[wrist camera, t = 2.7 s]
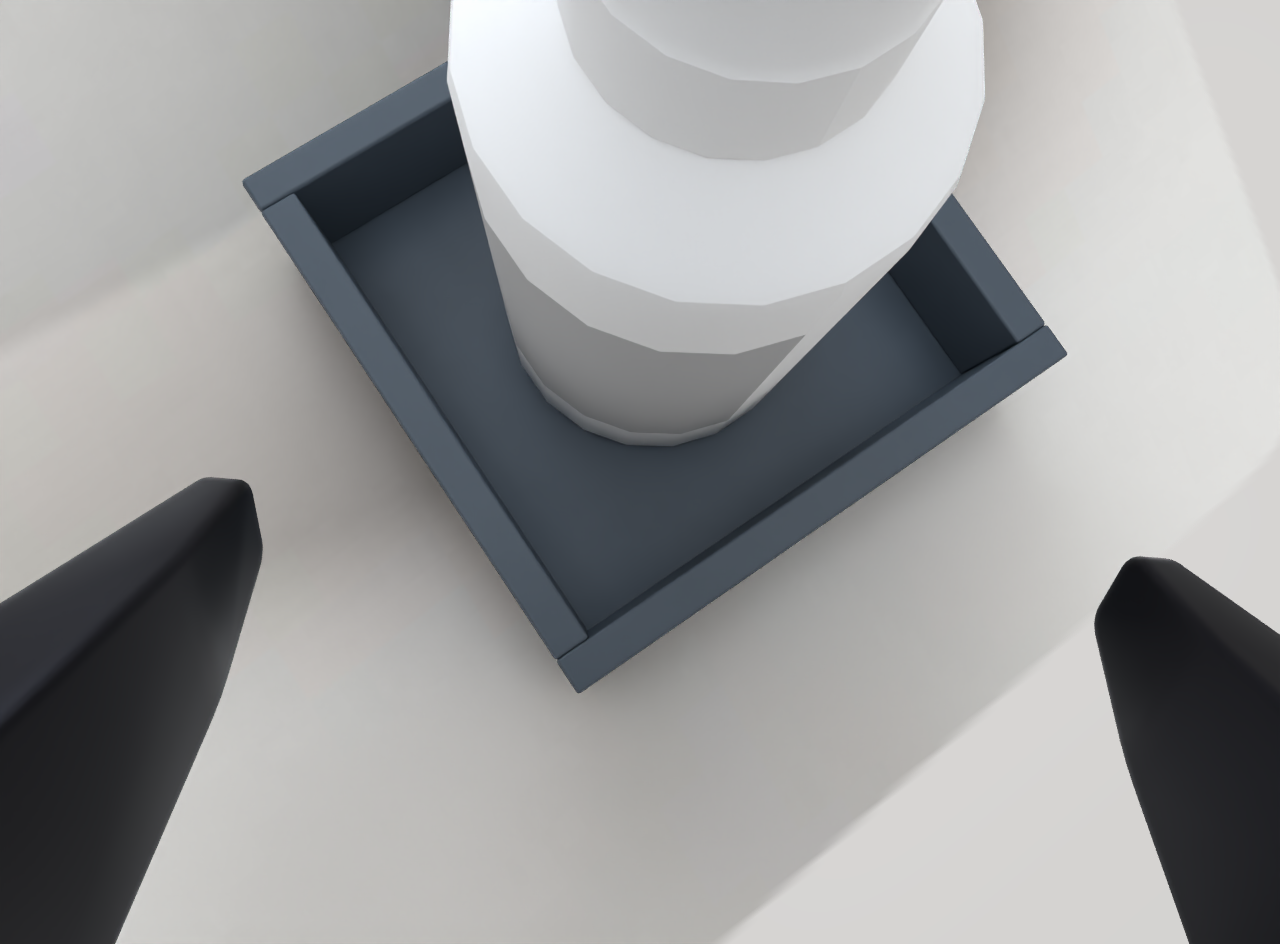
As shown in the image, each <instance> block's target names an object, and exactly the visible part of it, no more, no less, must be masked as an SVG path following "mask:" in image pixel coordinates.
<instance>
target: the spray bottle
mask: <svg viewBox="0 0 1280 944" xmlns="http://www.w3.org/2000/svg"><path fill="white" fill-rule="evenodd" d="M447 84H448V87H449V91H450V95H451V99H452V103H453V107H454V111H455V115H456V118H457V122H458V126H459V130H460V134H461V138H462V142H463V146H464V150H465V153H466V157H467V161H468V165H469V169H470V173H471V177H472V181H473V184H474V188H475V192H476V196H477V200H478V204H479V208H480V212H481V215H482V219H483V223H484V227H485V231H486V235H487V239H488V243H489V247H490V250H491V254H492V258H493V262H494V266H495V270H496V274H497V278H498V281H499V285H500V289H501V293H502V297H503V301H504V305H505V309H506V312H507V316H508V320H509V324H510V327H511V331H512V334H513V338H514V341H515V344H516V348H517V351H518V355H519V358H520V361H521V365H522V366H523V368H524V369H525V371H526V372H527V373H528V375H529V376H530V378H531V379H532V381H533V382H534V384H535V385H536V386H537V388H538V389H539V391H540V392H541V394H542V395H543V397H544V398H545V399H546V401H547V402H548V403H549V404H551V405H552V406H553V407H555V408H556V409H557V410H558V411H560V412H561V413H562V414H564V415H565V416H566V417H568V418H569V419H570V420H572V421H573V422H574V423H575V424H577V425H578V426H579V427H581V428H582V429H583V430H586V431H589V432H592V433H594V434H597V435H600V436H603V437H606V438H608V439H611V440H614V441H617V442H620V443H622V444H625V445H642V446H676V445H679V444H682V443H686V442H689V441H693V440H696V439H700V438H703V437H707V436H710V435H714V434H716V433H718V432H719V431H721V430H722V429H723V428H725V427H726V426H728V425H729V424H731V423H732V422H734V421H735V420H737V419H738V418H740V417H741V416H742V415H744V414H745V413H747V412H748V411H750V410H751V409H753V408H754V406H755V405H756V404H757V403H758V402H759V401H760V400H761V399H762V398H763V397H764V396H765V395H766V394H767V393H768V392H769V391H770V390H771V389H772V388H773V387H774V386H775V385H776V384H777V383H778V382H779V381H780V380H781V379H782V378H783V377H784V376H785V375H786V374H787V373H788V372H789V371H790V370H791V369H792V368H793V367H794V366H795V365H796V364H797V363H798V362H799V361H800V360H801V359H802V358H803V357H804V356H805V355H806V354H807V353H808V352H809V351H810V350H811V349H812V348H813V347H814V346H815V345H816V344H817V343H818V342H819V341H820V340H821V339H822V338H823V337H824V336H825V335H826V334H827V333H828V332H829V331H830V330H831V329H832V328H833V327H834V326H835V324H836V323H837V322H838V321H839V320H840V319H841V318H842V317H843V316H844V315H845V314H846V313H847V312H848V311H849V310H850V309H851V308H852V307H853V306H854V305H855V304H856V303H857V302H858V301H859V300H860V299H861V298H862V297H863V296H864V295H865V294H866V293H867V292H868V291H869V290H870V289H871V288H872V287H873V286H874V285H875V284H876V283H877V282H878V281H879V280H880V279H881V278H882V277H883V276H884V275H885V274H886V273H887V272H888V271H889V270H890V269H891V268H892V267H893V266H894V265H895V264H896V263H897V262H898V261H899V260H900V259H901V258H902V257H903V256H904V255H905V254H906V253H907V252H908V251H909V250H910V248H911V247H912V246H913V244H914V243H915V242H916V240H917V239H918V238H919V236H920V235H921V234H922V232H923V231H924V230H925V228H926V227H927V226H928V224H929V223H930V222H931V220H932V219H933V218H934V216H935V215H936V214H937V212H938V211H939V210H940V208H941V207H942V206H943V204H944V203H945V202H946V200H947V199H948V198H949V196H950V195H951V194H952V192H953V191H954V190H955V188H956V187H957V185H958V182H959V179H960V176H961V173H962V170H963V167H964V164H965V161H966V157H967V154H968V151H969V148H970V145H971V142H972V138H973V135H974V132H975V129H976V126H977V123H978V119H979V116H980V113H981V110H982V107H983V103H984V100H985V79H984V43H983V19H982V17H981V14H980V11H979V8H978V6H977V3H976V0H451V10H450V30H449V49H448V69H447Z"/></svg>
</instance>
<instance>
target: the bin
mask: <svg viewBox="0 0 1280 944" xmlns="http://www.w3.org/2000/svg"><path fill="white" fill-rule="evenodd" d="M447 69H448V61H447V62H445V63H444V64H442V65H440V66H438V67H437V68H435V69H433V70H432V71H430V72H428V73H426V74H425V75H423V76H421V77H419V78H418V79H416V80H414V81H413V82H411V83H409V84H407V85H406V86H404V87H402V88H401V89H399V90H397V91H395V92H394V93H392V94H390V95H388V96H387V97H385V98H383V99H382V100H380V101H378V102H376V103H375V104H373V105H371V106H369V107H368V108H366V109H364V110H363V111H361V112H359V113H357V114H356V115H354V116H352V117H350V118H349V119H347V120H345V121H344V122H342V123H340V124H338V125H337V126H335V127H333V128H331V129H330V130H328V131H326V132H325V133H323V134H321V135H319V136H318V137H316V138H314V139H312V140H311V141H309V142H307V143H306V144H304V145H302V146H300V147H299V148H297V149H295V150H294V151H292V152H290V153H288V154H287V155H285V156H283V157H281V158H280V159H278V160H276V161H275V162H273V163H271V164H269V165H268V166H266V167H264V168H262V169H261V170H259V171H257V172H256V173H254V174H252V175H250V176H249V177H247V178H245V179H244V180H243V181H242V182H243V186H244V188H245V189H246V191H247V192H248V194H249V195H250V197H251V198H252V200H253V201H254V203H255V204H256V206H257V207H258V209H259V210H260V211H261V212H262V215H263V217H264V218H265V220H266V221H267V223H268V224H269V226H270V227H271V229H272V230H273V232H274V233H275V235H276V236H277V238H278V239H279V241H280V242H281V244H282V245H283V247H284V249H285V250H286V252H287V253H288V255H289V256H290V258H291V259H292V261H293V262H294V264H295V265H296V267H297V268H298V270H299V271H300V273H301V274H302V276H303V277H304V279H305V280H306V282H307V283H308V285H309V286H310V288H311V290H312V291H313V293H314V294H315V296H316V297H317V299H318V300H319V302H320V303H321V305H322V306H323V308H324V309H325V311H326V312H327V314H328V315H329V317H330V318H331V320H332V321H333V323H334V324H335V326H336V327H337V329H338V331H339V332H340V334H341V335H342V337H343V338H344V340H345V341H346V343H347V344H348V346H349V347H350V349H351V350H352V352H353V353H354V355H355V356H356V358H357V359H358V361H359V362H360V364H361V365H362V367H363V368H364V370H365V372H366V373H367V375H368V376H369V378H370V379H371V381H372V382H373V384H374V385H375V387H376V388H377V390H378V391H379V393H380V394H381V396H382V397H383V399H384V400H385V402H386V403H387V405H388V406H389V408H390V409H391V411H392V413H393V414H394V416H395V417H396V419H397V420H398V422H399V423H400V425H401V426H402V428H403V429H404V431H405V432H406V434H407V435H408V437H409V438H410V440H411V441H412V443H413V444H414V446H415V447H416V449H417V451H418V452H419V454H420V455H421V457H422V458H423V460H424V461H425V463H426V464H427V466H428V467H429V469H430V470H431V472H432V473H433V475H434V476H435V478H436V479H437V481H438V482H439V484H440V485H441V487H442V488H443V490H444V492H445V493H446V495H447V496H448V498H449V499H450V501H451V502H452V504H453V505H454V507H455V508H456V510H457V511H458V513H459V514H460V516H461V517H462V519H463V520H464V522H465V523H466V525H467V526H468V528H469V529H470V531H471V533H472V534H473V536H474V537H475V539H476V540H477V542H478V543H479V545H480V546H481V548H482V549H483V551H484V552H485V554H486V555H487V557H488V558H489V560H490V561H491V563H492V564H493V566H494V567H495V569H496V570H497V572H498V574H499V575H500V577H501V578H502V580H503V581H504V583H505V584H506V586H507V587H508V589H509V590H510V592H511V593H512V595H513V596H514V598H515V599H516V601H517V602H518V604H519V605H520V607H521V608H522V610H523V611H524V613H525V615H526V616H527V618H528V619H529V621H530V622H531V624H532V625H533V627H534V628H535V630H536V631H537V633H538V634H539V636H540V637H541V639H542V640H543V642H544V643H545V645H546V646H547V648H548V649H549V651H550V652H551V654H552V656H553V657H554V658H555V659H557V663H558V665H559V666H560V668H561V669H562V671H563V672H564V674H565V675H566V677H567V678H568V680H569V681H570V683H571V684H572V686H573V687H574V689H575V690H576V692H577V693H581V692H583V691H584V690H586V689H587V688H588V687H590V686H591V685H593V684H594V683H596V682H597V681H598V680H600V679H601V678H603V677H604V676H606V675H607V674H609V673H610V672H611V671H613V670H614V669H616V668H617V667H619V666H620V665H622V664H623V663H624V662H626V661H627V660H629V659H630V658H632V657H633V656H635V655H636V654H637V653H639V652H640V651H642V650H643V649H645V648H646V647H647V646H649V645H650V644H652V643H653V642H655V641H656V640H658V639H659V638H660V637H662V636H663V635H665V634H666V633H668V632H669V631H671V630H672V629H673V628H675V627H676V626H678V625H679V624H681V623H682V622H684V621H685V620H686V619H688V618H689V617H691V616H692V615H694V614H695V613H696V612H698V611H699V610H701V609H702V608H704V607H705V606H707V605H708V604H709V603H711V602H712V601H714V600H715V599H717V598H718V597H720V596H721V595H722V594H724V593H725V592H727V591H728V590H730V589H731V588H733V587H734V586H735V585H737V584H738V583H740V582H741V581H743V580H744V579H746V578H747V577H748V576H750V575H751V574H753V573H754V572H756V571H757V570H758V569H760V568H761V567H763V566H764V565H766V564H767V563H769V562H770V561H771V560H773V559H774V558H776V557H777V556H779V555H780V554H782V553H783V552H784V551H786V550H787V549H789V548H790V547H792V546H793V545H795V544H796V543H797V542H799V541H800V540H802V539H803V538H805V537H806V536H807V535H809V534H810V533H812V532H813V531H815V530H816V529H818V528H819V527H820V526H822V525H823V524H825V523H826V522H828V521H829V520H831V519H832V518H833V517H835V516H836V515H838V514H839V513H841V512H842V511H844V510H845V509H846V508H848V507H849V506H851V505H852V504H854V503H855V502H856V501H858V500H859V499H861V498H862V497H864V496H865V495H867V494H868V493H869V492H871V491H872V490H874V489H875V488H877V487H878V486H880V485H881V484H882V483H884V482H885V481H887V480H888V479H890V478H891V477H893V476H894V475H895V474H897V473H898V472H900V471H901V470H903V469H904V468H906V467H907V466H908V465H910V464H911V463H913V462H914V461H916V460H917V459H918V458H920V457H921V456H923V455H924V454H926V453H927V452H929V451H930V450H931V449H933V448H934V447H936V446H937V445H939V444H940V443H942V442H943V441H944V440H946V439H947V438H949V437H950V436H952V435H953V434H955V433H956V432H957V431H959V430H960V429H962V428H963V427H965V426H966V425H967V424H969V423H970V422H972V421H973V420H975V419H976V418H978V417H979V416H980V415H982V414H983V413H985V412H986V411H988V410H989V409H991V408H992V407H993V406H995V405H996V404H998V403H999V402H1001V401H1002V400H1004V399H1005V398H1006V397H1008V396H1009V395H1011V394H1012V393H1014V392H1015V391H1016V390H1018V389H1019V388H1021V387H1022V386H1024V385H1025V384H1027V383H1028V382H1029V381H1031V380H1032V379H1034V378H1035V377H1037V376H1038V375H1040V374H1041V373H1042V372H1044V371H1045V370H1047V369H1048V368H1050V367H1051V366H1053V365H1054V364H1055V363H1057V362H1058V361H1060V360H1061V359H1063V358H1064V357H1065V356H1066V355H1067V352H1066V351H1065V349H1064V348H1063V347H1062V345H1061V344H1060V342H1059V341H1058V340H1057V338H1056V337H1055V335H1054V334H1053V333H1052V331H1051V330H1050V329H1049V327H1048V326H1044V324H1045V323H1044V321H1043V319H1042V318H1041V317H1040V315H1039V314H1038V312H1037V311H1036V310H1035V308H1034V307H1033V305H1032V304H1031V303H1030V301H1029V300H1028V299H1027V297H1026V296H1025V294H1024V293H1023V292H1022V290H1021V289H1020V287H1019V286H1018V285H1017V283H1016V282H1015V280H1014V279H1013V278H1012V276H1011V275H1010V274H1009V272H1008V271H1007V269H1006V268H1005V267H1004V265H1003V264H1002V262H1001V261H1000V260H999V258H998V257H997V255H996V254H995V253H994V251H993V250H992V249H991V247H990V246H989V244H988V243H987V242H986V240H985V239H984V237H983V236H982V235H981V233H980V232H979V230H978V229H977V228H976V226H975V225H974V224H973V222H972V221H971V219H970V218H969V217H968V215H967V214H966V212H965V211H964V210H963V208H962V207H961V205H960V204H959V203H958V201H957V200H956V199H955V197H954V196H953V194H951V195H950V196H949V198H948V199H947V200H946V202H945V203H944V204H943V206H942V207H941V208H940V210H939V211H938V212H937V214H936V215H935V216H934V218H933V219H932V220H931V222H930V223H929V224H928V226H927V227H926V228H925V230H924V231H923V232H922V234H921V235H920V236H919V238H918V239H917V240H916V242H915V243H914V244H913V246H912V247H911V248H910V250H909V251H908V252H907V253H906V254H905V255H904V256H903V257H902V258H901V259H900V260H899V261H898V262H897V263H896V264H895V265H894V266H893V267H892V268H891V269H890V270H889V271H888V272H887V273H886V274H885V275H884V276H883V277H882V278H881V279H880V280H879V281H878V282H877V283H876V284H875V285H874V286H873V287H872V288H871V289H870V290H869V291H868V292H867V293H866V294H865V295H864V296H863V297H862V298H861V299H860V300H859V301H858V302H857V303H856V304H855V305H854V306H853V307H852V308H851V309H850V310H849V311H848V312H847V313H846V314H845V315H844V316H843V317H842V318H841V319H840V320H839V321H838V322H837V323H836V324H835V326H834V327H833V328H832V329H831V330H830V331H829V332H828V333H827V334H826V335H825V336H824V337H823V338H822V339H821V340H820V341H819V342H818V343H817V344H816V345H815V346H814V347H813V348H812V349H811V350H810V351H809V352H808V353H807V354H806V355H805V356H804V357H803V358H802V359H801V360H800V361H799V362H798V363H797V364H796V365H795V366H794V367H793V368H792V369H791V370H790V371H789V372H788V373H787V374H786V375H785V376H784V377H783V378H782V379H781V380H780V381H779V382H778V383H777V384H776V385H775V386H774V387H773V388H772V389H771V390H770V391H769V392H768V393H767V394H766V395H765V396H764V397H763V398H762V399H761V400H760V401H759V402H758V403H757V404H756V405H755V406H754V408H753V409H751V410H750V411H748V412H747V413H745V414H744V415H742V416H741V417H740V418H738V419H737V420H735V421H734V422H732V423H731V424H729V425H728V426H726V427H725V428H723V429H722V430H721V431H719V432H718V433H716V434H714V435H710V436H707V437H703V438H700V439H696V440H693V441H689V442H686V443H682V444H679V445H676V446H642V445H625V444H622V443H620V442H617V441H614V440H611V439H608V438H606V437H603V436H600V435H597V434H594V433H592V432H589V431H586V430H583V429H582V428H581V427H579V426H578V425H577V424H575V423H574V422H573V421H572V420H570V419H569V418H568V417H566V416H565V415H564V414H562V413H561V412H560V411H558V410H557V409H556V408H555V407H553V406H552V405H551V404H549V403H548V402H547V401H546V399H545V398H544V397H543V395H542V394H541V392H540V391H539V389H538V388H537V386H536V385H535V384H534V382H533V381H532V379H531V378H530V376H529V375H528V373H527V372H526V371H525V369H524V368H523V366H522V365H521V361H520V358H519V355H518V351H517V348H516V344H515V341H514V338H513V334H512V331H511V327H510V324H509V320H508V316H507V312H506V309H505V305H504V301H503V297H502V293H501V289H500V285H499V281H498V278H497V274H496V270H495V266H494V262H493V258H492V254H491V250H490V247H489V243H488V239H487V235H486V231H485V227H484V223H483V219H482V215H481V212H480V208H479V204H478V200H477V196H476V192H475V188H474V184H473V181H472V177H471V173H470V169H469V165H468V161H467V157H466V153H465V150H464V146H463V142H462V138H461V134H460V130H459V126H458V122H457V118H456V115H455V111H454V107H453V103H452V99H451V95H450V91H449V87H448V84H447Z"/></svg>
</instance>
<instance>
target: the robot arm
mask: <svg viewBox="0 0 1280 944" xmlns="http://www.w3.org/2000/svg"><path fill="white" fill-rule="evenodd" d="M262 551H263V545H262V538H261V533H260V528H259V523H258V518H257V513H256V508H255V503H254V498H253V493H252V490H251V488H250V486H249V485H248V484H247V483H246V482H244V481H243V480H238V479H226V478H214V477H208V478H202V479H200V480H198V481H196V482H195V483H193V484H191V485H190V486H188V487H187V488H185V489H183V490H182V491H180V492H179V493H177V494H175V495H174V496H172V497H171V498H169V499H167V500H166V501H164V502H162V503H161V504H159V505H158V506H156V507H154V508H153V509H151V510H150V511H148V512H146V513H145V514H143V515H142V516H140V517H138V518H137V519H135V520H134V521H132V522H130V523H129V524H127V525H126V526H124V527H122V528H121V529H119V530H117V531H116V532H114V533H113V534H111V535H109V536H108V537H106V538H105V539H103V540H101V541H100V542H98V543H97V544H95V545H93V546H92V547H90V548H89V549H87V550H85V551H84V552H82V553H81V554H79V555H77V556H76V557H74V558H72V559H71V560H69V561H68V562H66V563H64V564H63V565H61V566H60V567H58V568H56V569H55V570H53V571H52V572H50V573H48V574H47V575H45V576H44V577H42V578H40V579H39V580H37V581H35V582H34V583H32V584H31V585H29V586H27V587H26V588H24V589H23V590H21V591H19V592H18V593H16V594H15V595H13V596H11V597H10V598H8V599H7V600H5V601H3V602H2V603H0V944H115V943H116V940H117V938H118V936H119V933H120V931H121V929H122V927H123V924H124V922H125V920H126V917H127V915H128V913H129V910H130V908H131V906H132V903H133V901H134V899H135V896H136V894H137V892H138V890H139V887H140V885H141V883H142V880H143V878H144V876H145V873H146V871H147V869H148V866H149V864H150V862H151V860H152V857H153V855H154V853H155V850H156V848H157V846H158V843H159V841H160V839H161V836H162V834H163V832H164V829H165V827H166V825H167V823H168V820H169V818H170V816H171V813H172V811H173V809H174V806H175V804H176V802H177V799H178V797H179V795H180V792H181V790H182V788H183V786H184V783H185V781H186V779H187V776H188V774H189V772H190V769H191V767H192V765H193V762H194V760H195V758H196V756H197V753H198V751H199V749H200V746H201V744H202V742H203V739H204V737H205V735H206V732H207V730H208V728H209V725H210V723H211V721H212V718H213V716H214V713H215V711H216V708H217V706H218V703H219V701H220V698H221V696H222V692H223V689H224V686H225V683H226V680H227V677H228V674H229V670H230V667H231V664H232V660H233V657H234V653H235V650H236V647H237V643H238V640H239V636H240V633H241V630H242V626H243V623H244V620H245V616H246V613H247V609H248V606H249V603H250V599H251V596H252V592H253V589H254V586H255V582H256V579H257V575H258V572H259V569H260V565H261V560H262ZM1094 626H1095V635H1096V639H1097V644H1098V648H1099V652H1100V657H1101V661H1102V665H1103V670H1104V674H1105V678H1106V682H1107V687H1108V691H1109V695H1110V699H1111V703H1112V708H1113V712H1114V716H1115V721H1116V724H1117V729H1118V733H1119V738H1120V742H1121V746H1122V749H1123V753H1124V757H1125V760H1126V764H1127V767H1128V770H1129V773H1130V776H1131V780H1132V782H1133V786H1134V788H1135V791H1136V794H1137V797H1138V800H1139V802H1140V805H1141V808H1142V811H1143V814H1144V817H1145V820H1146V822H1147V825H1148V828H1149V831H1150V834H1151V837H1152V839H1153V842H1154V845H1155V848H1156V851H1157V854H1158V856H1159V859H1160V862H1161V865H1162V868H1163V871H1164V873H1165V876H1166V879H1167V882H1168V885H1169V888H1170V890H1171V893H1172V896H1173V899H1174V902H1175V905H1176V907H1177V910H1178V913H1179V916H1180V919H1181V922H1182V924H1183V927H1184V930H1185V933H1186V936H1187V939H1188V941H1189V944H1280V634H1278V633H1277V632H1275V631H1274V630H1272V629H1271V628H1270V627H1268V626H1267V625H1265V624H1264V623H1262V622H1261V621H1260V620H1258V619H1257V618H1256V617H1254V616H1253V615H1251V614H1250V613H1248V612H1247V611H1246V610H1244V609H1243V608H1241V607H1240V606H1239V605H1237V604H1236V603H1234V602H1233V601H1232V600H1230V599H1229V598H1227V597H1226V596H1224V595H1223V594H1222V593H1220V592H1219V591H1217V590H1216V589H1215V588H1213V587H1212V586H1210V585H1209V584H1207V583H1206V582H1205V581H1203V580H1202V579H1200V578H1199V577H1198V576H1196V575H1195V574H1193V573H1192V572H1191V571H1189V570H1188V569H1186V568H1185V567H1183V566H1182V565H1181V564H1179V563H1177V562H1176V561H1173V560H1170V559H1164V558H1152V557H1141V556H1140V557H1133V558H1131V559H1130V560H1128V561H1127V562H1125V564H1124V565H1123V567H1122V568H1121V570H1120V572H1119V573H1118V575H1117V577H1116V578H1115V580H1114V582H1113V583H1112V585H1111V587H1110V589H1109V590H1108V592H1107V594H1106V595H1105V597H1104V599H1103V600H1102V602H1101V604H1100V605H1099V607H1098V609H1097V612H1096V616H1095V623H1094Z"/></svg>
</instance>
